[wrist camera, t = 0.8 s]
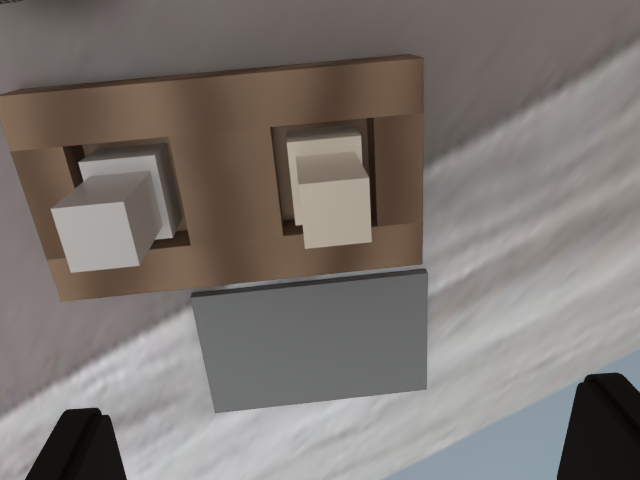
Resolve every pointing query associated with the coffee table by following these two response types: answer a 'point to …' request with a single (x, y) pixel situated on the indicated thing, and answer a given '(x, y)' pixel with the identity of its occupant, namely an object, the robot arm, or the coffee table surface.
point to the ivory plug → (329, 186)
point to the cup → (8, 1)
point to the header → (228, 166)
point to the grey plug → (118, 207)
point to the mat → (314, 340)
